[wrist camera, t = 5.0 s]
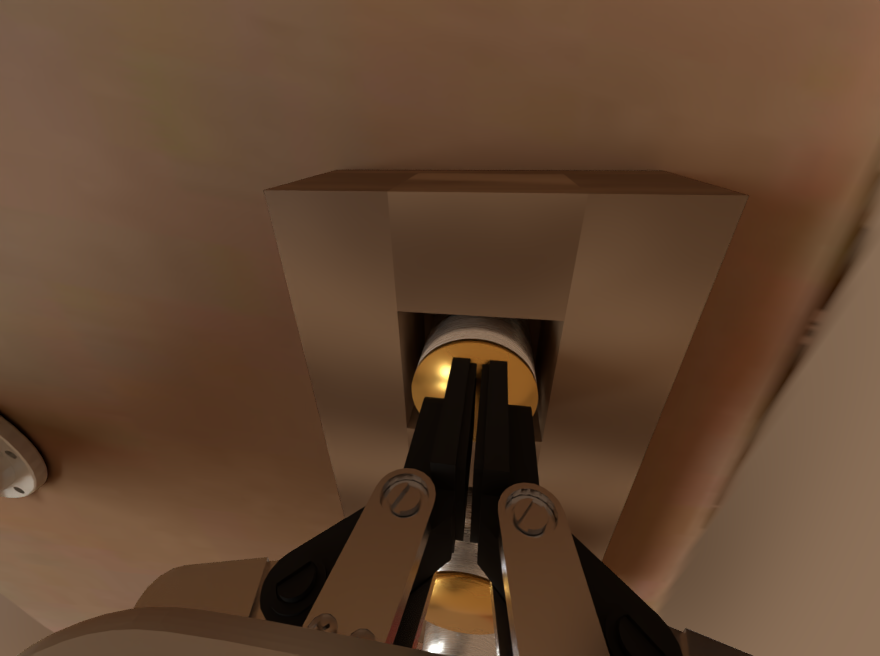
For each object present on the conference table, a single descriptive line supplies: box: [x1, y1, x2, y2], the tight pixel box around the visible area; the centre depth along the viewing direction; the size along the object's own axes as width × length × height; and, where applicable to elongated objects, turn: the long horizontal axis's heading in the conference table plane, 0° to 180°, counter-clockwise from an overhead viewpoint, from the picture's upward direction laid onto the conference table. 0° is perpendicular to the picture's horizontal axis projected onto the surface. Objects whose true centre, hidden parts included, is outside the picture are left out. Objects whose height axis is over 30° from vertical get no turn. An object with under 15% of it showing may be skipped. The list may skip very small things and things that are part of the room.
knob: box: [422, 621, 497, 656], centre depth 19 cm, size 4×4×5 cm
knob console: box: [264, 170, 749, 643], centre depth 18 cm, size 28×12×5 cm, turn 1°
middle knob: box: [425, 487, 494, 635], centre depth 15 cm, size 4×4×5 cm
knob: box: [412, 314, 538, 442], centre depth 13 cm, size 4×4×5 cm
